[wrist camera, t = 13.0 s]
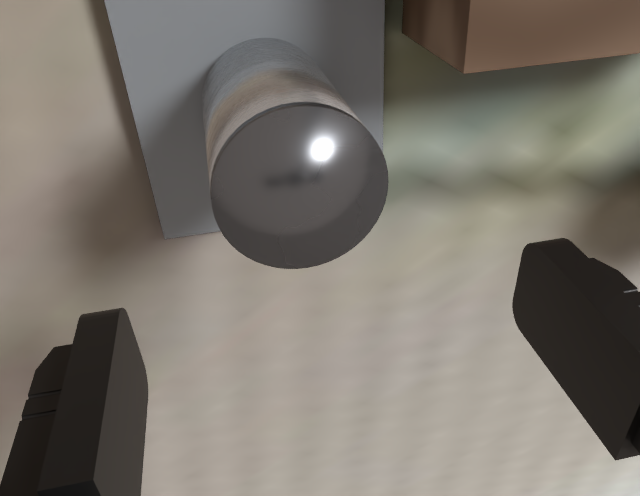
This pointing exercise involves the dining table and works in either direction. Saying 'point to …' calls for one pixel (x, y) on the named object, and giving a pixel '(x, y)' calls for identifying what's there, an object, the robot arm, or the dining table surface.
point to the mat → (199, 56)
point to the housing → (522, 31)
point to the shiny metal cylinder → (287, 158)
